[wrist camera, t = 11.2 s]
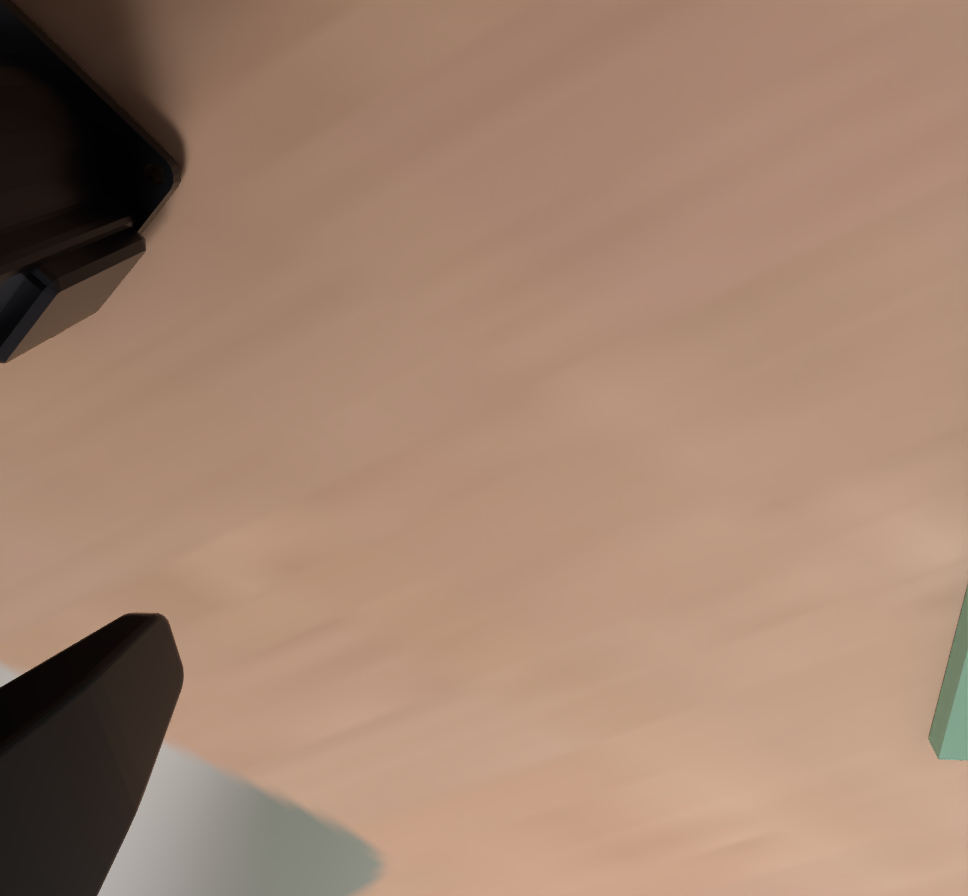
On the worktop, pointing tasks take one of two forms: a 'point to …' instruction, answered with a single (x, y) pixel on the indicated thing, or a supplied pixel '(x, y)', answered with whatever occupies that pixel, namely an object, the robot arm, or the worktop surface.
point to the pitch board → (954, 699)
